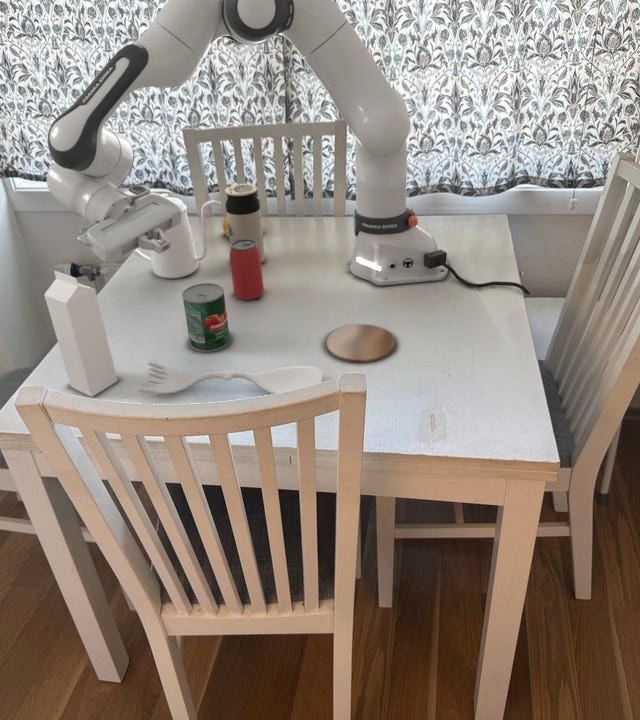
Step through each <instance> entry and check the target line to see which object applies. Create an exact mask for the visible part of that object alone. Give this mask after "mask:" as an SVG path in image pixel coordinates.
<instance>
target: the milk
mask: <svg viewBox="0 0 640 720" xmlns="http://www.w3.org/2000/svg"><path fill="white" fill-rule="evenodd" d="M54 276H55V279H54V281H53V282H52V284H51V285H50V286H49V287H48V289H47V290H46V292H45V293H44V294H43V295H44V298H45V303H46V305H47V309H48V312H49V316H50V319H51V323H52V326H53V330H54V333H55V337H56V340H57V343H58V346H59V350H60V353H61V357H62V361H63V364H64V367H65V372H66V374H67V377H68V381H69V384H70V387H71V388H73V389H75V390H76V391H78V392H80V393H83V394H85V395H87V396H89V397H91V398H93V397H94V396H96V395H97V394H99V393H100V392H102V391H104V390H106V389H108V388H109V387H110V386H112V385H113V384H116V383H117V382H118V377H117V372H116V369H115V364H114V361H113V357H112V353H111V348H110V346H109V345H110V344H109V340H108V336H107V331H106V329H105V324H104V320H103V316H102V312H101V307H100V304H99V300H98V296H97V295H98V294H97V291H96V288H94V287H91V286H88V285H85V284H83V283H80V282H78V279H77V277H74V276H71V275H69V274H66V273H63V272H60V271H58V270H54Z"/></svg>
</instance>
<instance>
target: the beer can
mask: <svg viewBox="0 0 640 720" xmlns="http://www.w3.org/2000/svg"><path fill="white" fill-rule="evenodd" d="M229 263H230V272H231V279H232V288H233V294H234V296H235V297H236V298H237V299H238V300H242V301H252V300H256V299H258V298H260V297H261V296H262V295H263V294H264V292H265V291H264V279H263V268H262V267H263V266H262V262H261V256H260V250H259V248H258V246H257V243H256V241H254V240H250V239H242V240H237V241H235V242H233V243H232V244H231V246H230V250H229Z"/></svg>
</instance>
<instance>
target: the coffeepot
mask: <svg viewBox="0 0 640 720" xmlns="http://www.w3.org/2000/svg"><path fill="white" fill-rule="evenodd" d="M159 194H160V195H162V196H164V197H166V198H168V199H169V200H171V201H173V202H174V203H176V204H177V205H178V206H179V207H180V208H181V222H180V224H179V225H177V226H175V227H173V228H172V229H170V230H168V231H166V232H165V233H163V234H164V236H165V238H167V239H168V240H170V242H171V248H169V249H167V250H166V251H164V252H162V253H161V254H158V253H157V252H155V251H154V250H153V251H152V250H150V256H148V255H146V254H145V253H143V252H141V250H140V249H139V248H137V249H136V250H134V251H132V252H131V253H134V255H136V256H137V257H140V258H142V259H144V260H146V261H149V262H151V267H152V271H153V273H154V274H155V275H156V276H158V277H160V278H163V279H179V278H184V277H187V276H190V275H191V274H193V273H195V272H196V270H197V269H198V267H199V262H201V261H202V260H204V259H205V258H206V256H207V252H208V245H207V244H208V243H207V227H206V226H207V225H206V209H207V207H209V206H212V205H221V204H222V202H220V201H219V200H214V199H213V200H207V201H206V202H205V203H203V205H202V206H201V209H200V216H201V217H200V218H201V220H200V221H201V236H202V254H200V256H198V255H197V251H196V248H195V247H196V246H195V243H194V237H193V234H192V229H191V225H190V221H189V216H188V212H187V211H188V208H187V205H186V204H185V203H184V202H183V200H182V199H179V198H177V197H169V194H168V193H166V192H165V193H159ZM152 241H156V240H154V239H153V240H152ZM157 241H158V240H157Z"/></svg>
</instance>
